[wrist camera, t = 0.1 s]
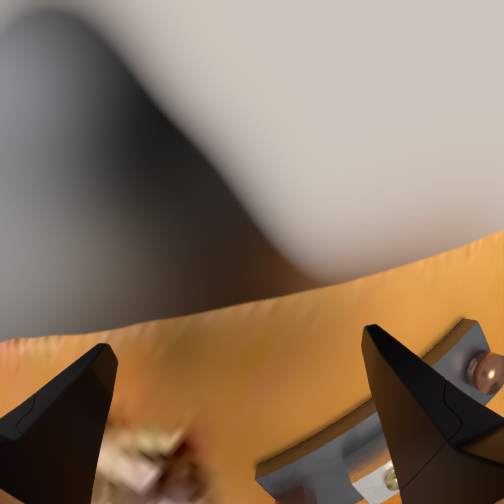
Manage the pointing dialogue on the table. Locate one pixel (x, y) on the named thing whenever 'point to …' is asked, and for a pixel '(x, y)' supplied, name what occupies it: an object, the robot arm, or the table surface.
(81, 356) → the robot arm
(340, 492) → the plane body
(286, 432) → the table surface
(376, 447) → the brown and grey block
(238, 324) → the table surface
